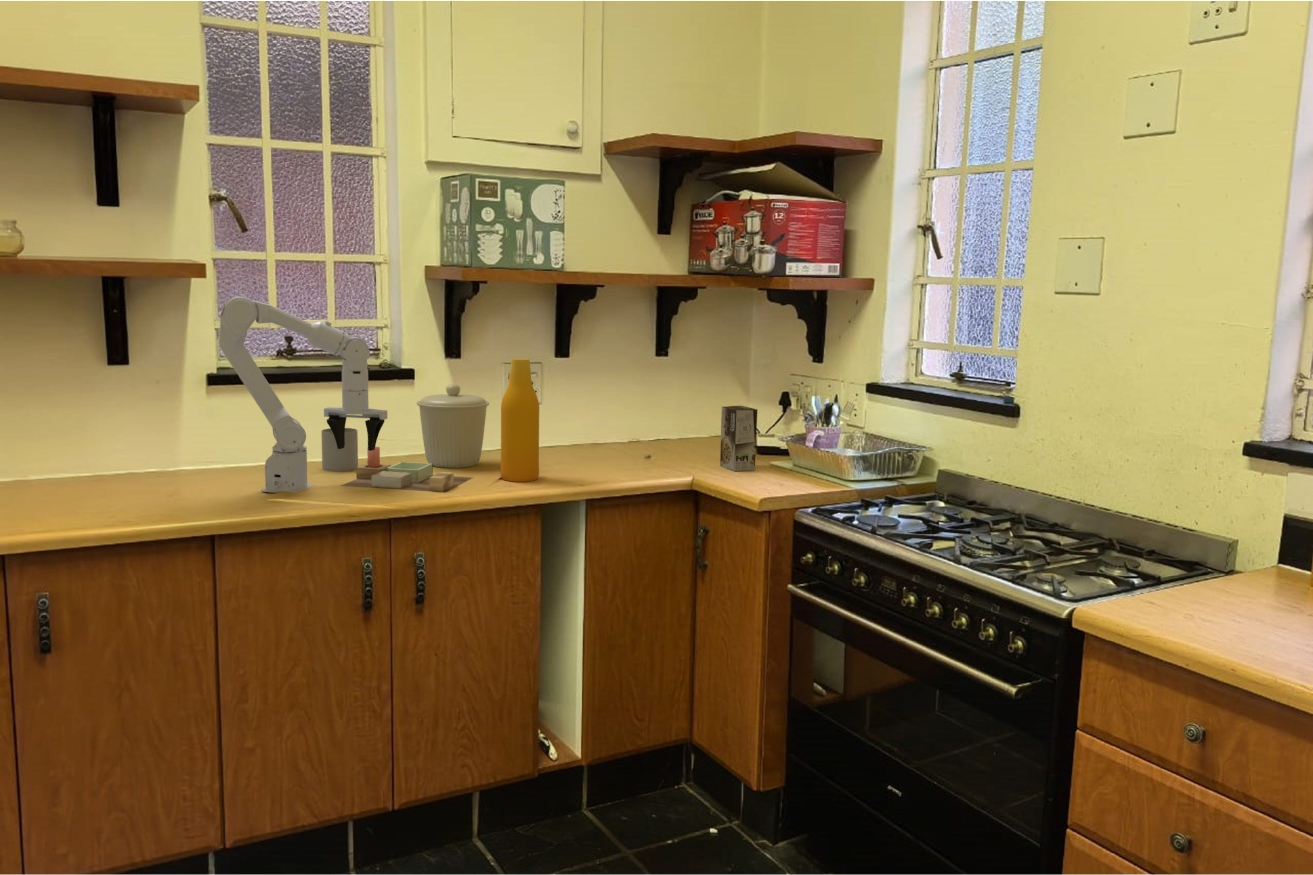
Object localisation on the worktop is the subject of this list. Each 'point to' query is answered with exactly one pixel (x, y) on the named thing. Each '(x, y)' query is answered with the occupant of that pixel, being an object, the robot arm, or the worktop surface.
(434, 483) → the bench board
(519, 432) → the beer bottle
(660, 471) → the worktop surface
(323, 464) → the cup
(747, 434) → the coffee box
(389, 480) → the grey flat block
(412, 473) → the tray
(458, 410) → the canister
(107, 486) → the worktop surface
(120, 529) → the worktop surface
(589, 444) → the worktop surface
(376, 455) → the dowel
